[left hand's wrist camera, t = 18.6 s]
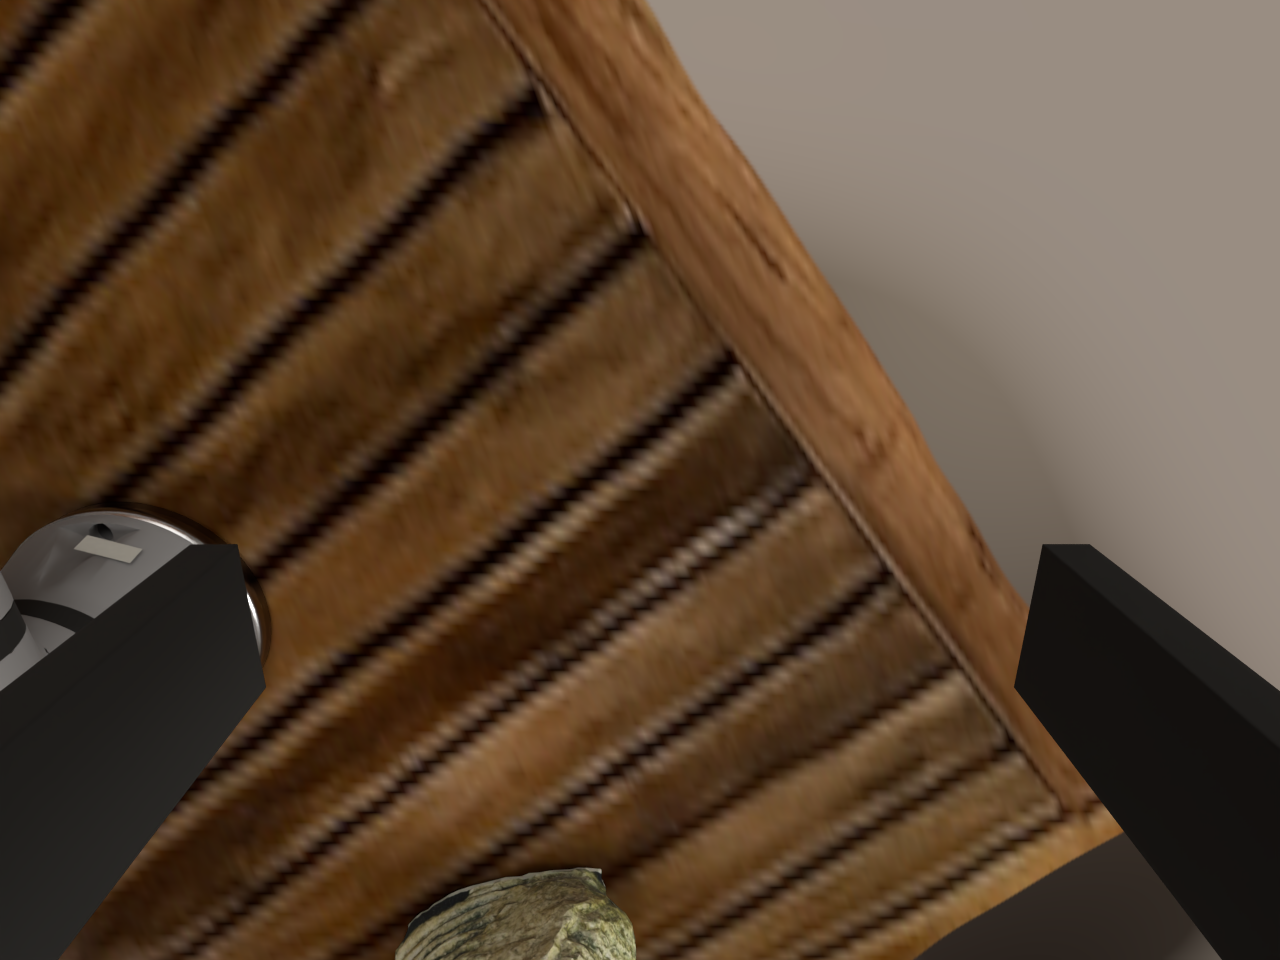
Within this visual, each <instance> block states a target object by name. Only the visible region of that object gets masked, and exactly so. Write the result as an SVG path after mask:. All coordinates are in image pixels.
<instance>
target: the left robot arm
mask: <svg viewBox="0 0 1280 960" xmlns="http://www.w3.org/2000/svg"><path fill="white" fill-rule="evenodd" d="M270 642H271V621H270V615H269V610H268V606H267V603H266V600H265V597H264V594H263V592H262V590H261V587H260V586H259V584H258V582H257V580H256V578H255V576H254V575H253V573H252V572H251V570H250V569H249V567H248V566H247V565H246V564H245V562H244V561H243V560H242V559H241V557H240V555H239V550H238V545H237V544H226V543H225V542H224V541H223V540H222V539H221V538H219V537H218V536H217V535H215V534H214V533H213V532H211V531H210V530H208V529H207V528H205V527H203V526H202V525H200V524H198V523H197V522H195V521H193V520H191V519H189V518H187V517H185V516H182V515H180V514H178V513H175V512H172V511H169V510H167V509H164V508H160V507H156V506H152V505H147V504H141V503H131V502H108V503H99V504H94V505H90V506H86V507H83V508H80V509H77V510H75V511H72V512H70V513H68V514H66V515H64V516H62V517H60V518H59V519H57V520H55V521H53V522H51V523H50V524H48V525H46V526H44V527H43V528H41V529H39V530H37V531H36V532H34V533H33V534H32V535H31V536H29V537H28V538H27V539H26V540H25V541H24V542H23V543H22V544H21V545H20V546H19V547H18V548H17V550H16V551H15V552H14V554H13V555H12V557H11V558H10V559H9V561H8V562H7V563H6V565H5V566H4V567H3V569H2V570H1V571H0V960H58V959H59V958H60V956H61V955H62V954H63V952H64V951H65V950H66V949H67V947H68V946H69V945H70V943H71V942H72V941H73V939H74V938H75V937H76V935H77V934H78V933H79V932H80V930H81V929H82V928H83V926H84V925H85V924H86V922H87V921H88V920H89V918H90V917H91V916H92V914H93V913H94V912H95V911H96V909H97V908H98V907H99V905H100V904H101V903H102V901H103V900H104V899H105V897H106V896H107V895H108V894H109V892H110V891H111V890H112V888H113V887H114V886H115V884H116V883H117V882H118V880H119V879H120V878H121V876H122V875H123V874H124V873H125V871H126V870H127V869H128V867H129V866H130V865H131V863H132V862H133V861H134V859H135V858H136V857H137V856H138V854H139V853H140V852H141V850H142V849H143V848H144V846H145V845H146V844H147V842H148V841H149V840H150V838H151V837H152V836H153V835H154V833H155V832H156V831H157V829H158V828H159V827H160V825H161V824H162V823H163V821H164V820H165V819H166V818H167V816H168V815H169V814H170V812H171V811H172V810H173V808H174V807H175V806H176V804H177V803H178V802H179V800H180V799H181V798H182V797H183V795H184V794H185V793H186V791H187V790H188V789H189V787H190V786H191V785H192V783H193V782H194V781H195V779H196V778H197V777H198V776H199V774H200V773H201V772H202V770H203V769H204V768H205V766H206V765H207V764H208V762H209V761H210V760H211V759H212V757H213V756H214V755H215V753H216V752H217V751H218V749H219V748H220V747H221V745H222V744H223V743H224V741H225V740H226V739H227V738H228V736H229V735H230V734H231V732H232V731H233V730H234V728H235V727H236V726H237V724H238V723H239V722H240V721H241V719H242V718H243V717H244V715H245V714H246V713H247V711H248V710H249V709H250V707H251V706H252V705H253V703H254V702H255V701H256V700H257V698H258V697H259V696H260V694H261V693H262V692H263V690H264V689H265V688H266V685H265V680H264V675H263V670H262V668H263V666H264V664H265V661H266V659H267V656H268V652H269V648H270ZM1014 688H1015V689H1016V690H1017V692H1018V693H1019V694H1020V696H1021V697H1022V698H1023V700H1024V701H1025V702H1026V703H1027V705H1028V706H1029V707H1030V709H1031V710H1032V711H1033V713H1034V714H1035V715H1036V717H1037V718H1038V719H1039V721H1040V722H1041V723H1042V724H1043V726H1044V727H1045V728H1046V730H1047V731H1048V732H1049V734H1050V735H1051V736H1052V738H1053V739H1054V740H1055V741H1056V743H1057V744H1058V745H1059V747H1060V748H1061V749H1062V751H1063V752H1064V753H1065V755H1066V756H1067V757H1068V759H1069V760H1070V761H1071V762H1072V764H1073V765H1074V766H1075V768H1076V769H1077V770H1078V772H1079V773H1080V774H1081V776H1082V777H1083V778H1084V779H1085V781H1086V782H1087V783H1088V785H1089V786H1090V787H1091V789H1092V790H1093V791H1094V793H1095V794H1096V795H1097V797H1098V798H1099V799H1100V800H1101V802H1102V803H1103V804H1104V806H1105V807H1106V808H1107V810H1108V811H1109V812H1110V814H1111V815H1112V816H1113V818H1114V819H1115V820H1116V821H1117V823H1118V824H1119V825H1120V827H1121V828H1122V829H1123V831H1124V832H1125V833H1126V835H1127V836H1128V837H1129V838H1130V840H1131V841H1132V842H1133V844H1134V845H1135V846H1136V848H1137V849H1138V850H1139V852H1140V853H1141V854H1142V855H1143V857H1144V858H1145V859H1146V861H1147V862H1148V863H1149V865H1150V866H1151V867H1152V869H1153V870H1154V871H1155V873H1156V874H1157V875H1158V876H1159V878H1160V879H1161V880H1162V882H1163V883H1164V884H1165V886H1166V887H1167V888H1168V890H1169V891H1170V892H1171V893H1172V895H1173V896H1174V897H1175V899H1176V900H1177V901H1178V903H1179V904H1180V905H1181V907H1182V908H1183V909H1184V910H1185V912H1186V913H1187V914H1188V916H1189V917H1190V918H1191V920H1192V921H1193V922H1194V924H1195V925H1196V926H1197V928H1198V929H1199V930H1200V932H1201V933H1202V934H1203V935H1204V937H1205V938H1206V939H1207V941H1208V942H1209V943H1210V945H1211V946H1212V947H1213V949H1214V950H1215V951H1216V952H1217V954H1218V955H1219V956H1220V958H1221V959H1222V960H1280V691H1279V690H1278V689H1276V688H1275V687H1274V686H1272V685H1271V684H1270V683H1269V682H1267V681H1266V680H1265V679H1263V678H1262V677H1261V676H1259V675H1258V674H1257V673H1256V672H1254V671H1253V670H1252V669H1250V668H1249V667H1248V666H1247V665H1245V664H1244V663H1243V662H1241V661H1240V660H1239V659H1237V658H1236V657H1235V656H1234V655H1232V654H1231V653H1230V652H1228V651H1227V650H1226V649H1225V648H1223V647H1222V646H1221V645H1219V644H1218V643H1217V642H1215V641H1214V640H1213V639H1211V638H1210V637H1209V636H1208V635H1206V634H1205V633H1204V632H1202V631H1201V630H1200V629H1199V628H1197V627H1196V626H1195V625H1193V624H1192V623H1191V622H1190V621H1188V620H1187V619H1186V618H1184V617H1183V616H1182V615H1180V614H1179V613H1178V612H1177V611H1175V610H1174V609H1173V608H1171V607H1170V606H1169V605H1168V604H1166V603H1165V602H1164V601H1162V600H1161V599H1160V598H1158V597H1157V596H1156V595H1155V594H1153V593H1152V592H1151V591H1149V590H1148V589H1147V588H1146V587H1144V586H1143V585H1142V584H1140V583H1139V582H1138V581H1136V580H1135V579H1134V578H1133V577H1131V576H1130V575H1129V574H1127V573H1126V572H1125V571H1123V570H1122V569H1121V568H1120V567H1118V566H1117V565H1116V564H1114V563H1113V562H1112V561H1111V560H1109V559H1108V558H1107V557H1105V556H1104V555H1103V554H1102V553H1100V552H1099V551H1098V550H1096V549H1095V548H1094V547H1092V546H1091V545H1090V544H1043V545H1042V550H1041V555H1040V560H1039V565H1038V570H1037V575H1036V580H1035V585H1034V590H1033V595H1032V600H1031V605H1030V610H1029V615H1028V620H1027V625H1026V630H1025V635H1024V640H1023V645H1022V650H1021V655H1020V660H1019V665H1018V670H1017V675H1016V680H1015V685H1014Z"/></svg>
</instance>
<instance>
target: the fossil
mask: <svg viewBox="0 0 1280 960" xmlns="http://www.w3.org/2000/svg"><path fill="white" fill-rule="evenodd" d="M395 960H636V947H635V936H634V932H633V926H632V923H631V921H630V920H629V918H628V917H627V915H626V913H625V912H623V911H622V910H621V909H620V908H618V907H617V906H616V905H615V904H614V903H613V902H612V901H611V900H610V899H609V898H608V897H607V896H606V888H605V885H604V883H603V881H602V879H601V869H594V868H574V869H568V870H551V871H544V872H537V873H528V874H526V875H523V876H518V877H504V878H501V879H497V880H493V881H489V882H485V883H481V884H477V885H473V886H470V887H467V888H464V889H461V890H458V891H456V892H453V893H451V894H449V895H448V896H446V897H445V898H443V899H442V900H440V901H438V902H436V903H434V904H433V905H432V906H431V907H430V908H429V909H428V910H426V911H423V912H421V913H420V914H419V915H418V916H416V917H415V918H414V920H413V921H412V922H411V923H410V924H409V926H408V931H407V933H406V936H405V938H404V940H403V941H402V943H401V944H400V945H399V947H398V948H397V950H396V952H395Z"/></svg>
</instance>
